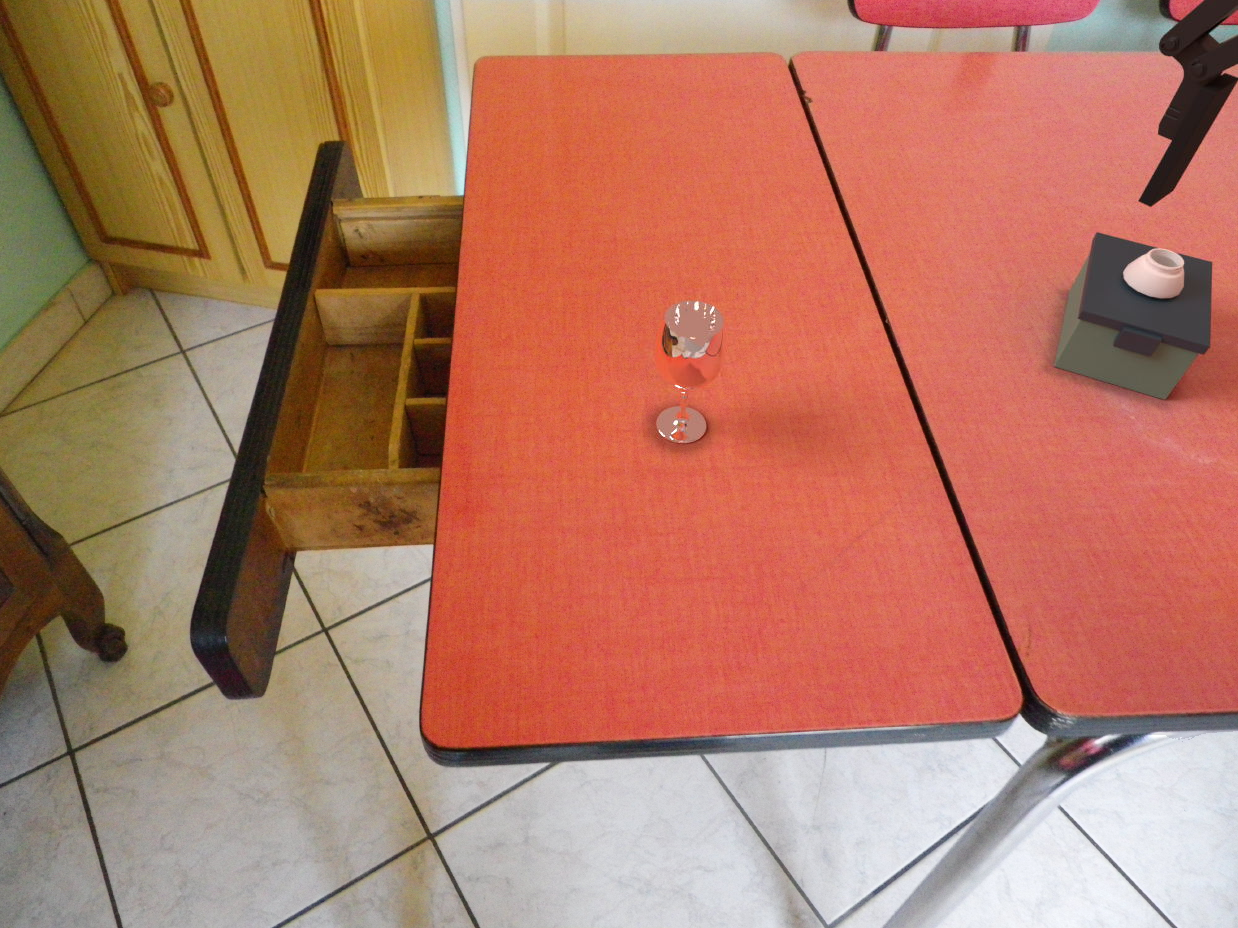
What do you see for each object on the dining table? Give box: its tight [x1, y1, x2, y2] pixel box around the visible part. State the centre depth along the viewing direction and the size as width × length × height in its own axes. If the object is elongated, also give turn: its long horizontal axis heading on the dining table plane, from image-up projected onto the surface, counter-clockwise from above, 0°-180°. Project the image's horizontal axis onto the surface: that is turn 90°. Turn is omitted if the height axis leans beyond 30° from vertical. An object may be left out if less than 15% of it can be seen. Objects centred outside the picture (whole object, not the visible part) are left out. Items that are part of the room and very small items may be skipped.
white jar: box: [1123, 247, 1184, 298], centre depth 78 cm, size 5×3×5 cm
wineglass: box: [654, 300, 727, 444], centre depth 71 cm, size 6×6×12 cm
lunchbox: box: [1053, 231, 1213, 401], centre depth 81 cm, size 15×11×7 cm
